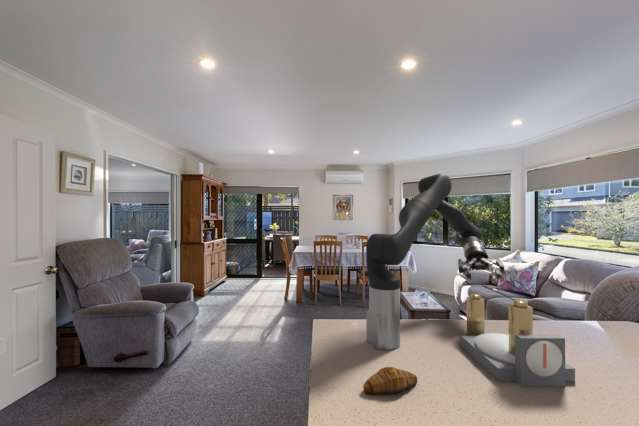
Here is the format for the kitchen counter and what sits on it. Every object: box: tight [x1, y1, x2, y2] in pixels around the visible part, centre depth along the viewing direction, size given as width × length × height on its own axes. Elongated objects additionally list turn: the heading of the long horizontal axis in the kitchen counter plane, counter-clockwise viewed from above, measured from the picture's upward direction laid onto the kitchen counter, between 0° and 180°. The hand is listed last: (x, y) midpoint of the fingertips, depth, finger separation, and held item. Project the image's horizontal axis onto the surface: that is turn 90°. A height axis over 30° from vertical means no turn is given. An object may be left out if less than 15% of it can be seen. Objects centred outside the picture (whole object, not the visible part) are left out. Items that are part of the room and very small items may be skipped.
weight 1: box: [466, 293, 485, 336], centre depth 93 cm, size 5×5×13 cm
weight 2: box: [508, 299, 534, 356], centre depth 73 cm, size 5×5×13 cm
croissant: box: [363, 366, 418, 396], centre depth 65 cm, size 14×7×5 cm, turn 108°
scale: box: [460, 332, 576, 388], centre depth 75 cm, size 18×21×11 cm
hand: (484, 277), depth 97 cm, fingers open, 8 cm apart
